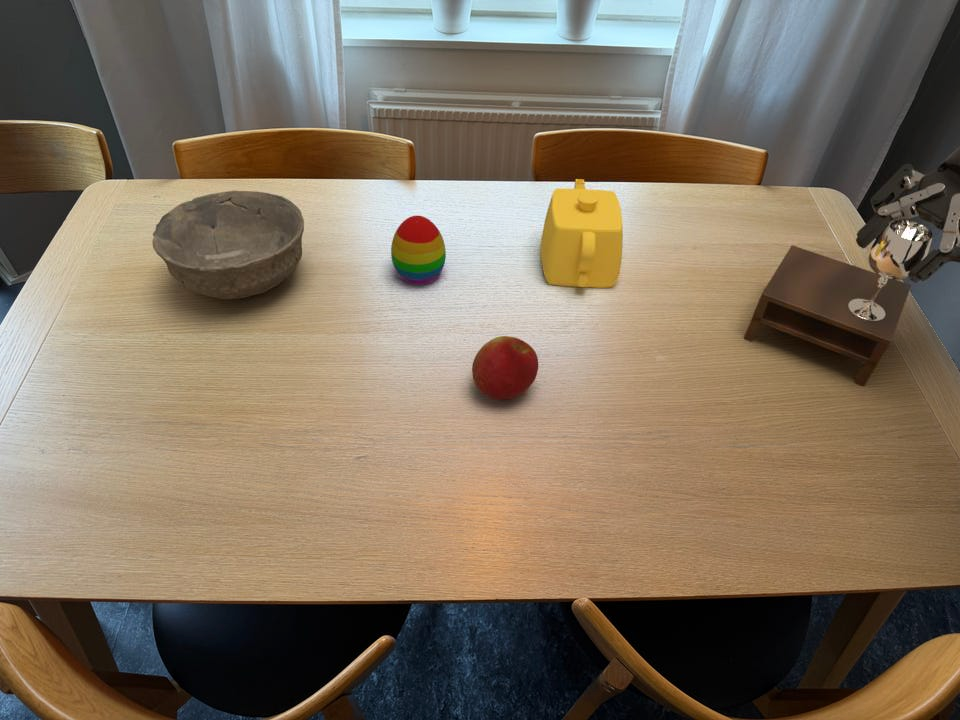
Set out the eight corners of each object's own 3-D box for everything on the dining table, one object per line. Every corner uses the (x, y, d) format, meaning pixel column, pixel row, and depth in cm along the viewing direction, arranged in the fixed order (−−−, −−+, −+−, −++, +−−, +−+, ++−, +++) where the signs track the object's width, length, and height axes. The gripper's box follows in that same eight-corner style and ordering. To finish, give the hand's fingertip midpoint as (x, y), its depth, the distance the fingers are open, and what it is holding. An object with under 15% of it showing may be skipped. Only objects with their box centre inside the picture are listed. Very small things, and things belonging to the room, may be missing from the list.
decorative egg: (391, 290, 99) (386, 233, 92) (394, 258, 104) (390, 203, 98) (446, 290, 99) (444, 233, 92) (446, 258, 105) (445, 203, 98)
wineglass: (868, 292, 87) (911, 213, 79) (901, 319, 83) (949, 239, 75) (832, 300, 86) (872, 221, 78) (864, 328, 82) (909, 247, 74)
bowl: (343, 274, 101) (334, 218, 94) (235, 346, 89) (216, 288, 82) (253, 228, 110) (239, 174, 103) (143, 289, 98) (119, 231, 91)
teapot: (538, 223, 113) (545, 159, 104) (611, 227, 112) (623, 162, 104) (540, 296, 98) (547, 228, 90) (623, 300, 98) (637, 233, 90)
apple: (527, 418, 81) (532, 372, 75) (464, 403, 82) (465, 357, 77) (540, 375, 86) (546, 330, 81) (481, 363, 88) (482, 317, 82)
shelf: (885, 329, 94) (911, 284, 89) (863, 386, 86) (891, 341, 80) (773, 288, 101) (791, 244, 95) (743, 338, 92) (761, 293, 87)
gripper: (943, 107, 76) (830, 217, 81) (1068, 162, 67) (932, 282, 71) (951, 142, 82) (844, 243, 86) (1067, 197, 72) (941, 307, 77)
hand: (884, 261), depth 79 cm, fingers open, 7 cm apart
